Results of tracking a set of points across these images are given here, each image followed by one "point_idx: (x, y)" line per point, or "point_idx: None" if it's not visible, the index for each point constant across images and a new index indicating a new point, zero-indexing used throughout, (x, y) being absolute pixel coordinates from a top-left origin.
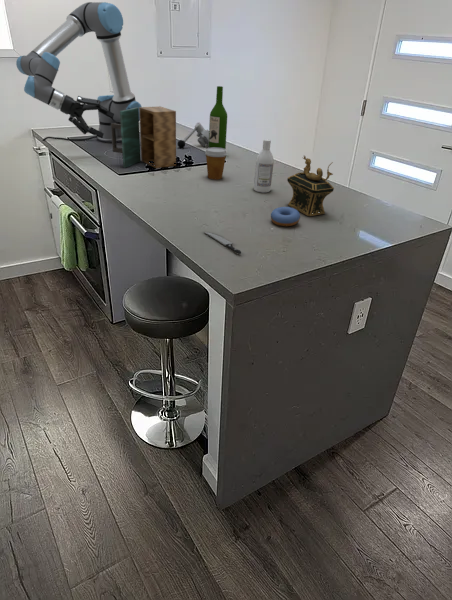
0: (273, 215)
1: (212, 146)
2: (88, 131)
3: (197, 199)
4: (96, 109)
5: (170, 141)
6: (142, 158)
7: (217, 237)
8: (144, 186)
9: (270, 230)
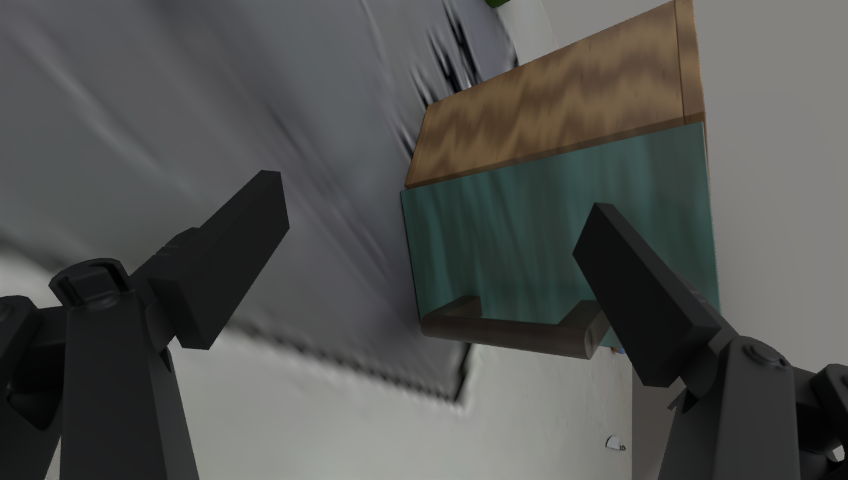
0: (623, 351)
1: None
2: (165, 345)
3: (574, 359)
4: (678, 421)
5: None
6: (421, 186)
7: (613, 444)
8: (525, 399)
9: (614, 367)
